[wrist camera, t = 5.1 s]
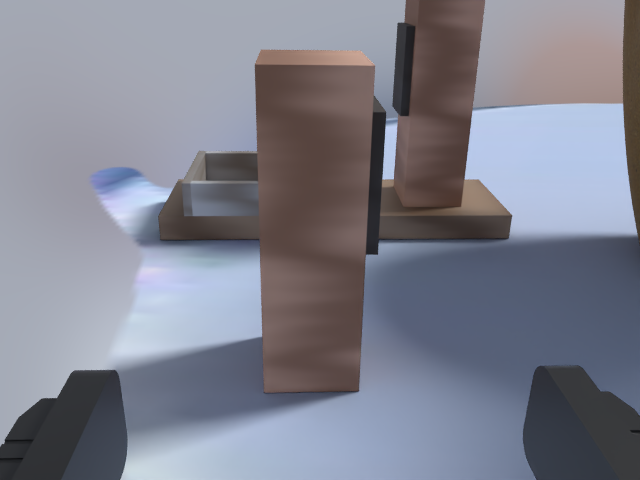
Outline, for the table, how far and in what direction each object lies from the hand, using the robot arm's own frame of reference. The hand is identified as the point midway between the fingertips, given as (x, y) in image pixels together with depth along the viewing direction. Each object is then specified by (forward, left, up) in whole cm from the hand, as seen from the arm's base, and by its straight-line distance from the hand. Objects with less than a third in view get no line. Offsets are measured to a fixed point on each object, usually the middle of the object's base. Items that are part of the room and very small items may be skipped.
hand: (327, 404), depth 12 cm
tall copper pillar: (0, -11, -7) cm, 13 cm away
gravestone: (-2, -27, -7) cm, 28 cm away
